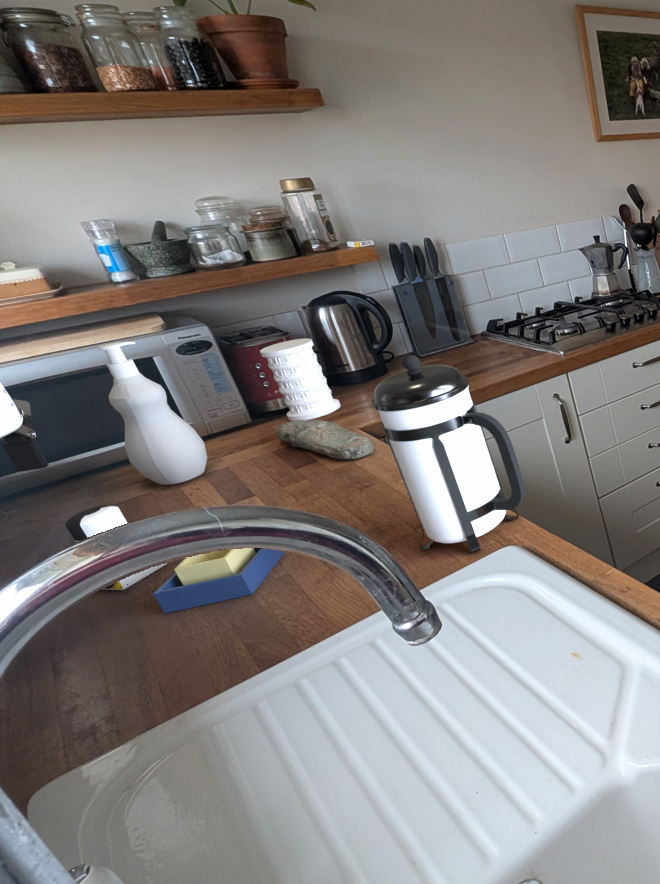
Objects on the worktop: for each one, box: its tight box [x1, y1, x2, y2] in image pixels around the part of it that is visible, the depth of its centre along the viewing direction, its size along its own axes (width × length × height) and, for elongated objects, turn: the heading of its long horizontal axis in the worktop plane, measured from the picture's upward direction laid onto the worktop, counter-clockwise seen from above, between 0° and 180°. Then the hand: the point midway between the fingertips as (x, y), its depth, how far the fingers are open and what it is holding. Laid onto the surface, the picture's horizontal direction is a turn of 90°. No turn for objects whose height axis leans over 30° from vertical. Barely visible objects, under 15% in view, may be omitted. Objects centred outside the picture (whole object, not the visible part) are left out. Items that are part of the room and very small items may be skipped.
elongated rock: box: [274, 419, 375, 460], centre depth 150 cm, size 35×5×10 cm
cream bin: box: [173, 548, 256, 586], centre depth 102 cm, size 7×7×5 cm
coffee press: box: [370, 354, 526, 555], centre depth 102 cm, size 17×16×30 cm
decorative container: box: [259, 337, 342, 422], centre depth 170 cm, size 12×12×18 cm
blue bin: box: [153, 548, 285, 614], centre depth 102 cm, size 11×11×4 cm
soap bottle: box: [97, 340, 208, 485], centre depth 137 cm, size 17×12×29 cm
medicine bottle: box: [64, 504, 168, 591], centre depth 105 cm, size 7×7×12 cm
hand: (5, 485), depth 86 cm, fingers open, 9 cm apart
